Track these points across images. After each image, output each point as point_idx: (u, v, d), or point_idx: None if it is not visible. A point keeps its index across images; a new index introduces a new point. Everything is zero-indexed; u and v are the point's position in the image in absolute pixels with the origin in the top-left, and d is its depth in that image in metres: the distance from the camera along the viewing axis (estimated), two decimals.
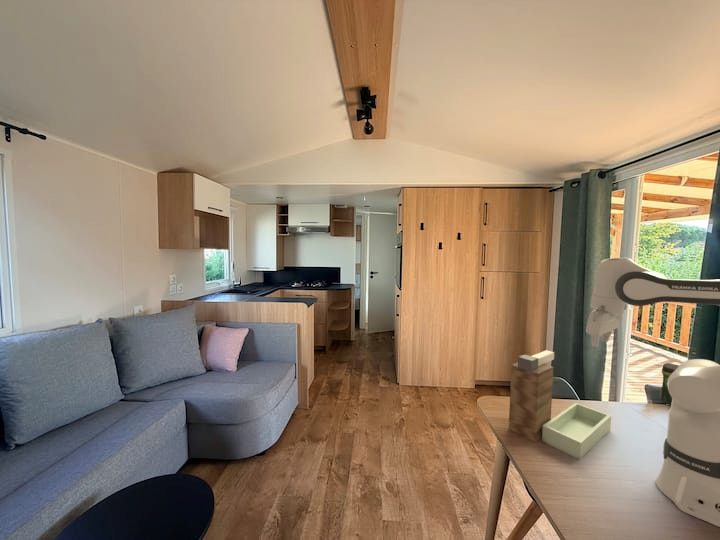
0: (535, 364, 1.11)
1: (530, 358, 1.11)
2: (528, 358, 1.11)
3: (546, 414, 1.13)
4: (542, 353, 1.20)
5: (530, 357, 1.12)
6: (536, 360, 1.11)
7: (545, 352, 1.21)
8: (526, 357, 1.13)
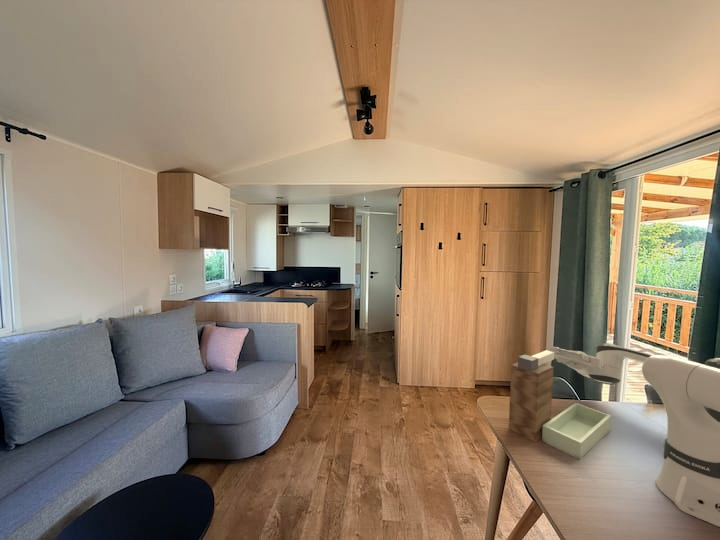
0: (535, 364, 1.11)
1: (530, 358, 1.11)
2: (528, 358, 1.11)
3: (546, 414, 1.13)
4: (542, 353, 1.20)
5: (530, 357, 1.12)
6: (536, 360, 1.11)
7: (545, 352, 1.21)
8: (526, 357, 1.13)
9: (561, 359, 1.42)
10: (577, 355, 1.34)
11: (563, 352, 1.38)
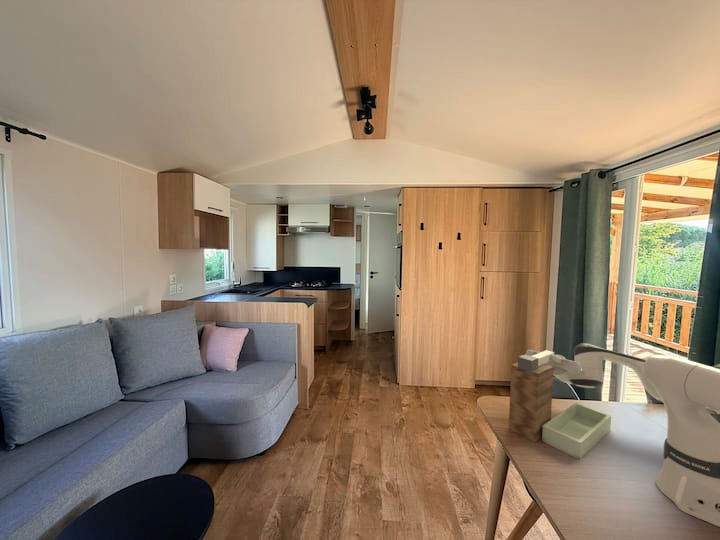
0: (535, 364, 1.11)
1: (530, 358, 1.11)
2: (528, 358, 1.11)
3: (546, 414, 1.13)
4: (542, 353, 1.20)
5: (530, 357, 1.12)
6: (536, 360, 1.11)
7: (545, 352, 1.21)
8: (526, 357, 1.13)
9: None
10: None
11: None
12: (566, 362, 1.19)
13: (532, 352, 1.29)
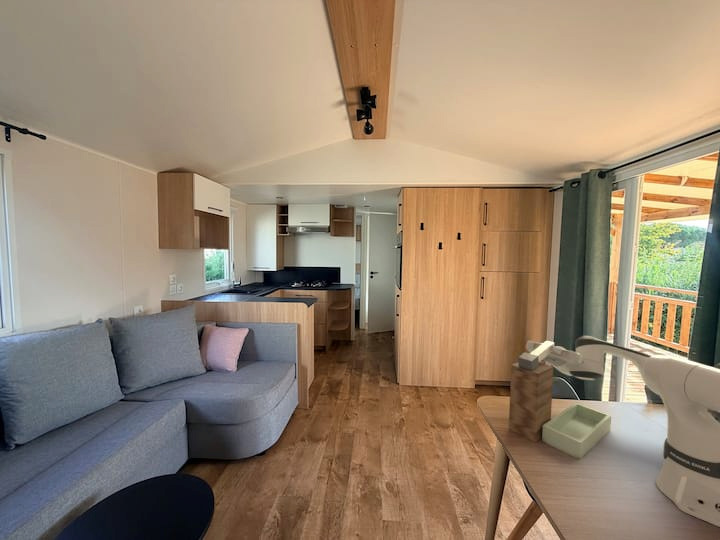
0: (535, 363, 1.11)
1: (530, 357, 1.11)
2: (528, 358, 1.11)
3: (546, 414, 1.13)
4: (542, 346, 1.20)
5: (530, 356, 1.12)
6: (536, 358, 1.11)
7: (545, 344, 1.20)
8: (526, 356, 1.12)
9: None
10: None
11: None
12: (566, 353, 1.19)
13: (532, 343, 1.29)
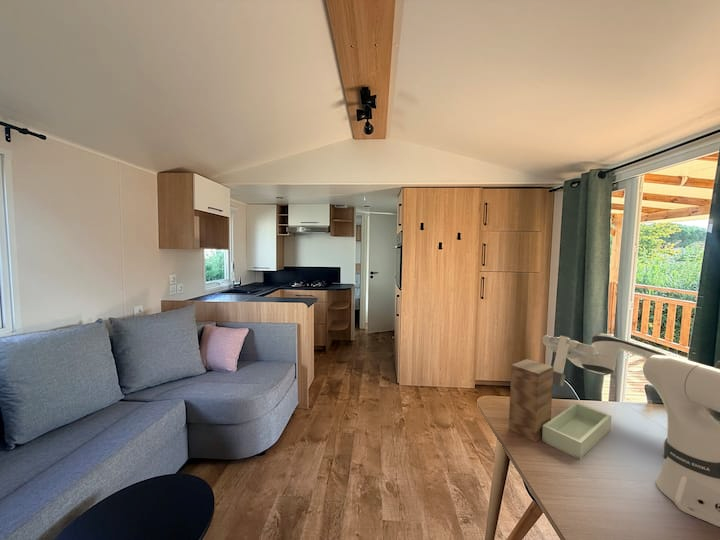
0: (562, 379, 1.26)
1: (556, 379, 1.26)
2: (555, 380, 1.26)
3: (546, 414, 1.13)
4: (559, 348, 1.29)
5: (555, 376, 1.26)
6: (561, 377, 1.25)
7: (561, 344, 1.29)
8: None
9: (555, 348, 1.39)
10: None
11: None
12: (582, 346, 1.28)
13: (549, 338, 1.38)
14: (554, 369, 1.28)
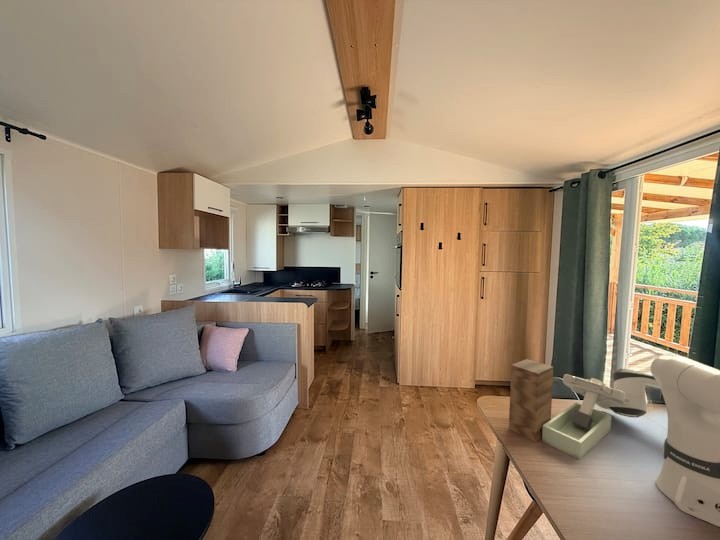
0: (590, 422, 1.14)
1: (583, 420, 1.14)
2: (581, 421, 1.14)
3: (546, 414, 1.13)
4: None
5: (582, 417, 1.15)
6: (589, 419, 1.13)
7: None
8: (578, 418, 1.15)
9: (577, 389, 1.26)
10: (596, 386, 1.18)
11: (580, 382, 1.22)
12: None
13: (570, 377, 1.24)
14: (581, 410, 1.17)
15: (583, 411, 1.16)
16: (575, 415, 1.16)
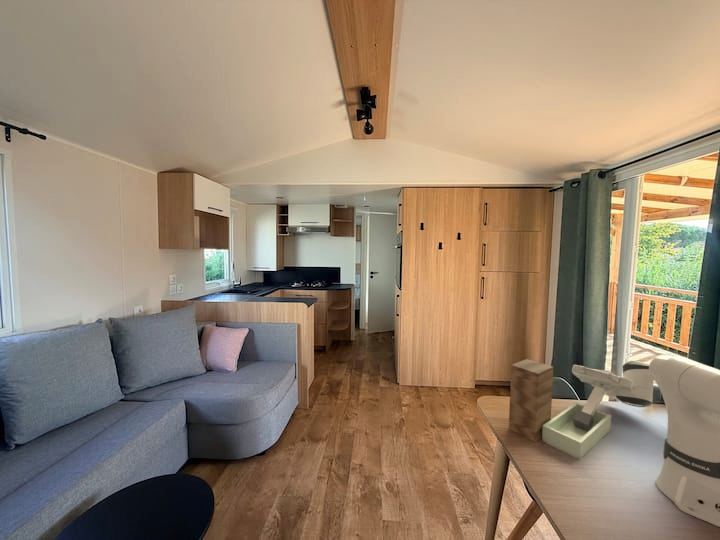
0: (591, 422, 1.14)
1: (585, 418, 1.14)
2: (583, 419, 1.15)
3: (546, 414, 1.13)
4: (593, 396, 1.22)
5: (584, 416, 1.15)
6: (591, 419, 1.14)
7: (596, 393, 1.23)
8: (580, 416, 1.16)
9: (585, 379, 1.31)
10: (605, 375, 1.23)
11: (588, 371, 1.27)
12: None
13: (579, 367, 1.30)
14: (583, 411, 1.18)
15: (585, 412, 1.18)
16: (577, 414, 1.17)
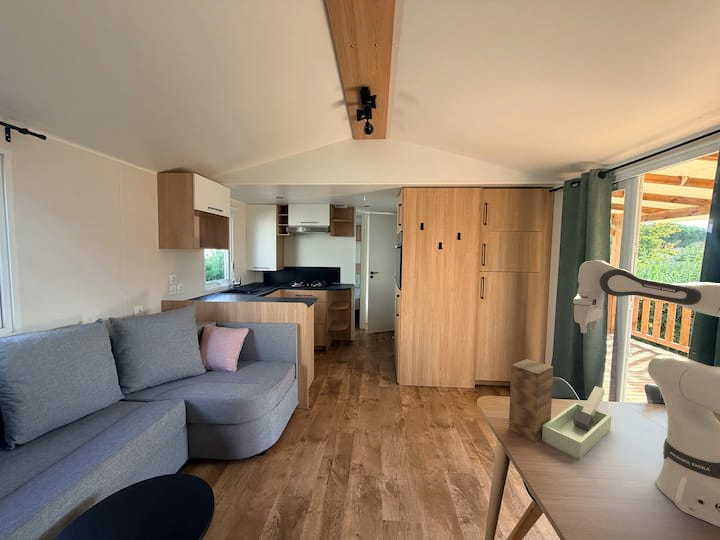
0: (591, 422, 1.14)
1: (585, 418, 1.14)
2: (583, 419, 1.15)
3: (546, 414, 1.13)
4: (593, 396, 1.22)
5: (584, 416, 1.15)
6: (591, 419, 1.14)
7: (596, 393, 1.23)
8: (580, 416, 1.16)
9: None
10: None
11: None
12: None
13: None
14: (583, 411, 1.18)
15: (585, 412, 1.18)
16: (577, 414, 1.17)
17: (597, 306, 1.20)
